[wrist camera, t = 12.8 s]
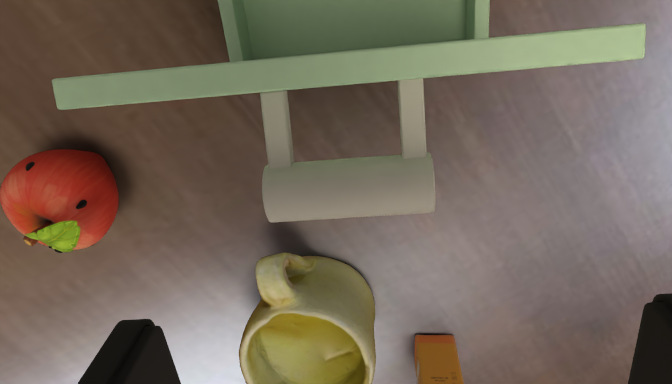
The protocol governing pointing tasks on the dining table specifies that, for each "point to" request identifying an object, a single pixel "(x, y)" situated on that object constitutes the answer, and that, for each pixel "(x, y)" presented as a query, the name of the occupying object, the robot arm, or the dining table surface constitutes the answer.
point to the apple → (61, 198)
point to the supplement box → (437, 360)
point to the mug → (309, 324)
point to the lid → (344, 69)
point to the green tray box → (345, 25)
